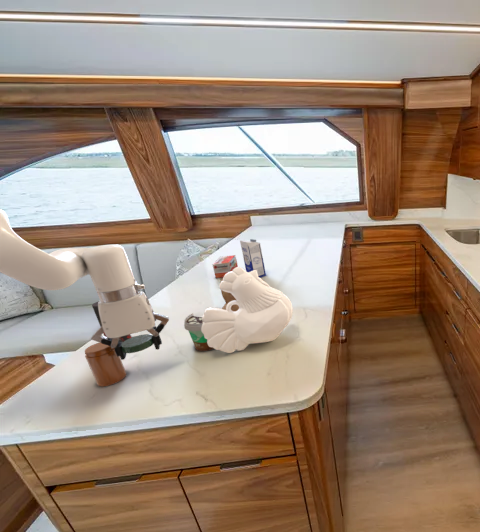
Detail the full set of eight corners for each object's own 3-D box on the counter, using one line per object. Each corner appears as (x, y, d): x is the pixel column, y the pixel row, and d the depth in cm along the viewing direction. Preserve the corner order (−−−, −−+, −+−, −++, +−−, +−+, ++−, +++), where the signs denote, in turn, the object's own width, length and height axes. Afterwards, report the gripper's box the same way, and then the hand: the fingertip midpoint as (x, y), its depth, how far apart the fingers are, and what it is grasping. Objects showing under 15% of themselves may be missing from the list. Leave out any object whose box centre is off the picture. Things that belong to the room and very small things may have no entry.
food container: (181, 349, 95) (172, 322, 91) (198, 339, 100) (191, 313, 97) (210, 356, 91) (203, 327, 88) (227, 345, 97) (220, 317, 93)
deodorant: (129, 344, 98) (114, 303, 94) (105, 349, 96) (88, 308, 91) (133, 335, 103) (119, 296, 98) (111, 341, 101) (95, 301, 96)
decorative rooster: (300, 304, 109) (245, 256, 100) (302, 315, 94) (238, 261, 86) (248, 356, 104) (186, 311, 96) (242, 377, 90) (168, 325, 81)
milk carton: (247, 276, 157) (239, 240, 151) (259, 273, 162) (252, 237, 156) (254, 279, 153) (246, 241, 146) (266, 275, 158) (259, 239, 151)
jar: (95, 389, 78) (80, 356, 75) (99, 377, 83) (86, 345, 79) (125, 380, 81) (112, 347, 78) (128, 369, 86) (115, 337, 83)
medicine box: (222, 269, 169) (219, 256, 167) (238, 267, 171) (235, 254, 169) (215, 278, 156) (211, 264, 153) (232, 276, 158) (229, 262, 155)
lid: (155, 337, 86) (153, 331, 85) (153, 347, 80) (152, 341, 80) (124, 345, 82) (122, 339, 82) (120, 356, 77) (118, 350, 76)
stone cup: (249, 318, 114) (241, 281, 109) (215, 321, 112) (206, 284, 107) (259, 301, 128) (252, 268, 123) (229, 304, 126) (221, 271, 121)
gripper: (162, 280, 84) (179, 335, 90) (76, 297, 74) (101, 357, 80) (160, 289, 78) (179, 347, 84) (67, 308, 69) (95, 371, 74)
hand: (141, 351), depth 82 cm, fingers closed on lid, 6 cm apart
